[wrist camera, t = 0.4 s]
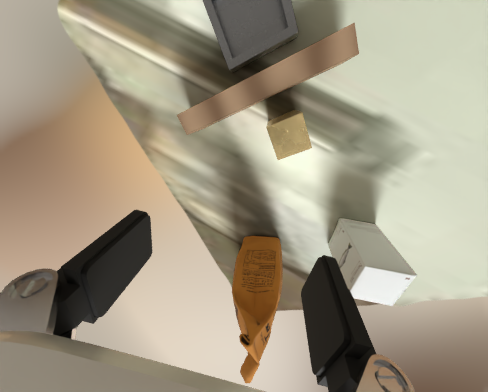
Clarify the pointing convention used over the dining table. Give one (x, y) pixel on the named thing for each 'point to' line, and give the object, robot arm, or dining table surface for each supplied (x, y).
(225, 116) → the brown plank
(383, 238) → the supplement box
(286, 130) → the block
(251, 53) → the grey square tray
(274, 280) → the coffee package
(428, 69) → the dining table surface
